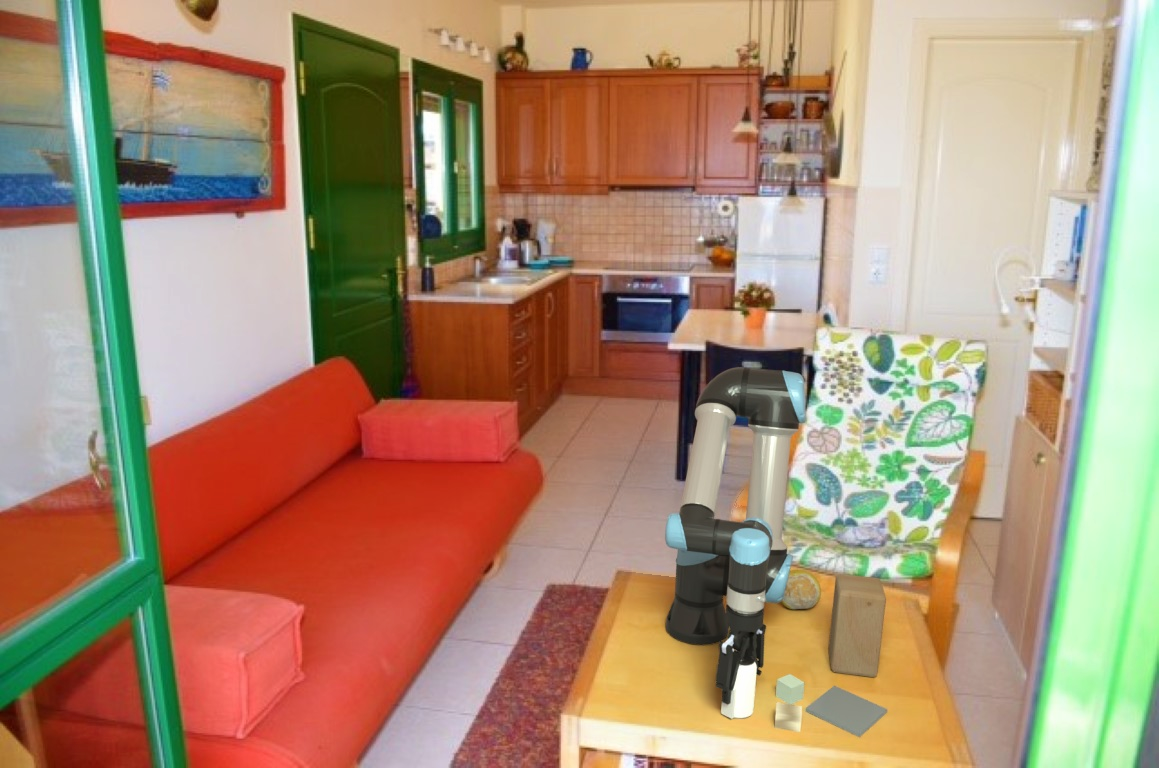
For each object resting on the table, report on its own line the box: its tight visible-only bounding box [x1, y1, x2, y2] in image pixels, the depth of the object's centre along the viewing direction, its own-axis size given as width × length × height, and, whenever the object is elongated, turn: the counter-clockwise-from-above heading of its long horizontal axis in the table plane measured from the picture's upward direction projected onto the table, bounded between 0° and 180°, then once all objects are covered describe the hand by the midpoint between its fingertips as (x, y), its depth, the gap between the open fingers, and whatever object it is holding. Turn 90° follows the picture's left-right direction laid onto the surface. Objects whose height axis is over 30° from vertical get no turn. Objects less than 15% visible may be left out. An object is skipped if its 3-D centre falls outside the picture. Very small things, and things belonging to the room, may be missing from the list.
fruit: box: [780, 569, 822, 610], centre depth 225 cm, size 10×11×10 cm
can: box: [733, 650, 757, 720], centre depth 180 cm, size 6×6×12 cm
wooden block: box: [827, 573, 887, 678], centre depth 198 cm, size 10×10×20 cm
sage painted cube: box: [775, 673, 805, 705], centre depth 186 cm, size 4×4×4 cm
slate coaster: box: [805, 685, 888, 738], centre depth 182 cm, size 12×12×1 cm
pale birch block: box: [774, 701, 803, 733], centre depth 176 cm, size 5×3×4 cm, turn 76°
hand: (737, 708), depth 181 cm, fingers closed on can, 6 cm apart
